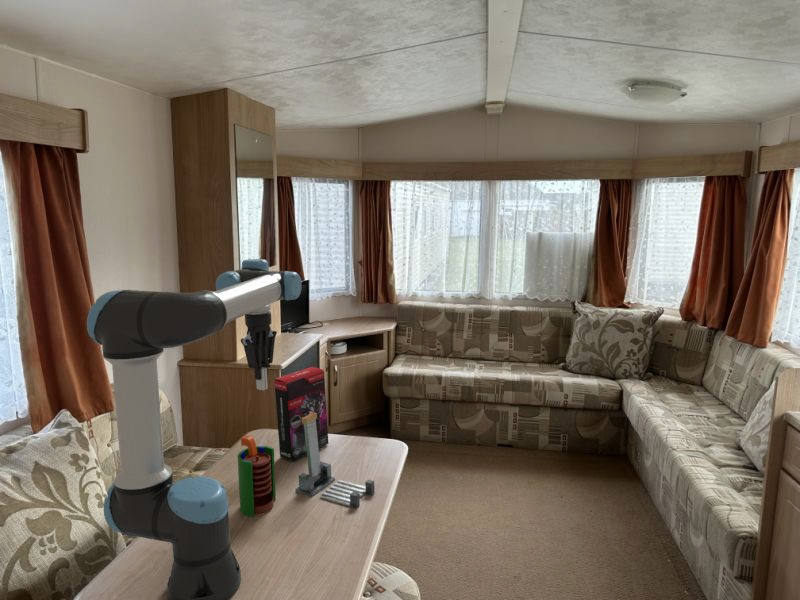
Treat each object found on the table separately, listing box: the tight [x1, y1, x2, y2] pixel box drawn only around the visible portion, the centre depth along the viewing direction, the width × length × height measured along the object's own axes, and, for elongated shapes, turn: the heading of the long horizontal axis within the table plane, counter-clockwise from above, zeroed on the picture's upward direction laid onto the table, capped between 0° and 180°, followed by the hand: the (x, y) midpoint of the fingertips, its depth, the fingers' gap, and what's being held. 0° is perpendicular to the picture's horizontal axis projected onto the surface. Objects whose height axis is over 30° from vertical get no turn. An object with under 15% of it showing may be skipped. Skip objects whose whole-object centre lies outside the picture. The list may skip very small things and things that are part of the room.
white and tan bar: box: [302, 412, 324, 483], centre depth 165 cm, size 5×2×20 cm, turn 151°
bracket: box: [295, 461, 375, 509], centre depth 162 cm, size 11×20×5 cm, turn 61°
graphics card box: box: [273, 366, 329, 462], centre depth 187 cm, size 17×7×27 cm, turn 143°
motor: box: [237, 435, 277, 518], centre depth 153 cm, size 10×9×20 cm
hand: (262, 388), depth 169 cm, fingers closed
